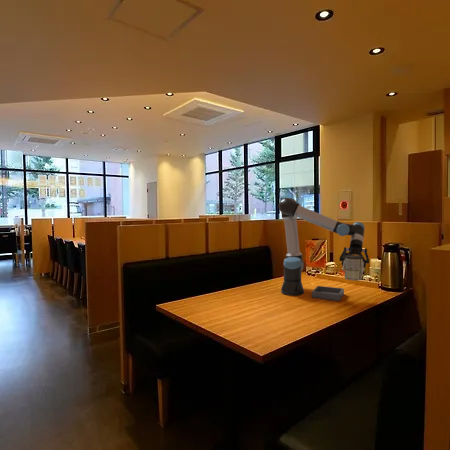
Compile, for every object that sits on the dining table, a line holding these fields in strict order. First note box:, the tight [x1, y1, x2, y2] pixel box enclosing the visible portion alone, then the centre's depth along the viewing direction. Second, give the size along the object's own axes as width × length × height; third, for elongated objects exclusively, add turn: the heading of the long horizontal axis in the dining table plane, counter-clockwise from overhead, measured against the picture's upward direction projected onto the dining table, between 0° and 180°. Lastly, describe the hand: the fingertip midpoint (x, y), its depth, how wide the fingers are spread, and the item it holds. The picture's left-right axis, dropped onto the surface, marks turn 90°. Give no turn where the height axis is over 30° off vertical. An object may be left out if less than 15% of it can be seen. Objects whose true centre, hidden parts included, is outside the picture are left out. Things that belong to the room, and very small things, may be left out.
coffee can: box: [344, 254, 364, 281], centre depth 196 cm, size 10×10×14 cm
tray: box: [311, 285, 345, 302], centre depth 206 cm, size 17×17×4 cm
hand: (352, 270), depth 193 cm, fingers closed on coffee can, 10 cm apart
